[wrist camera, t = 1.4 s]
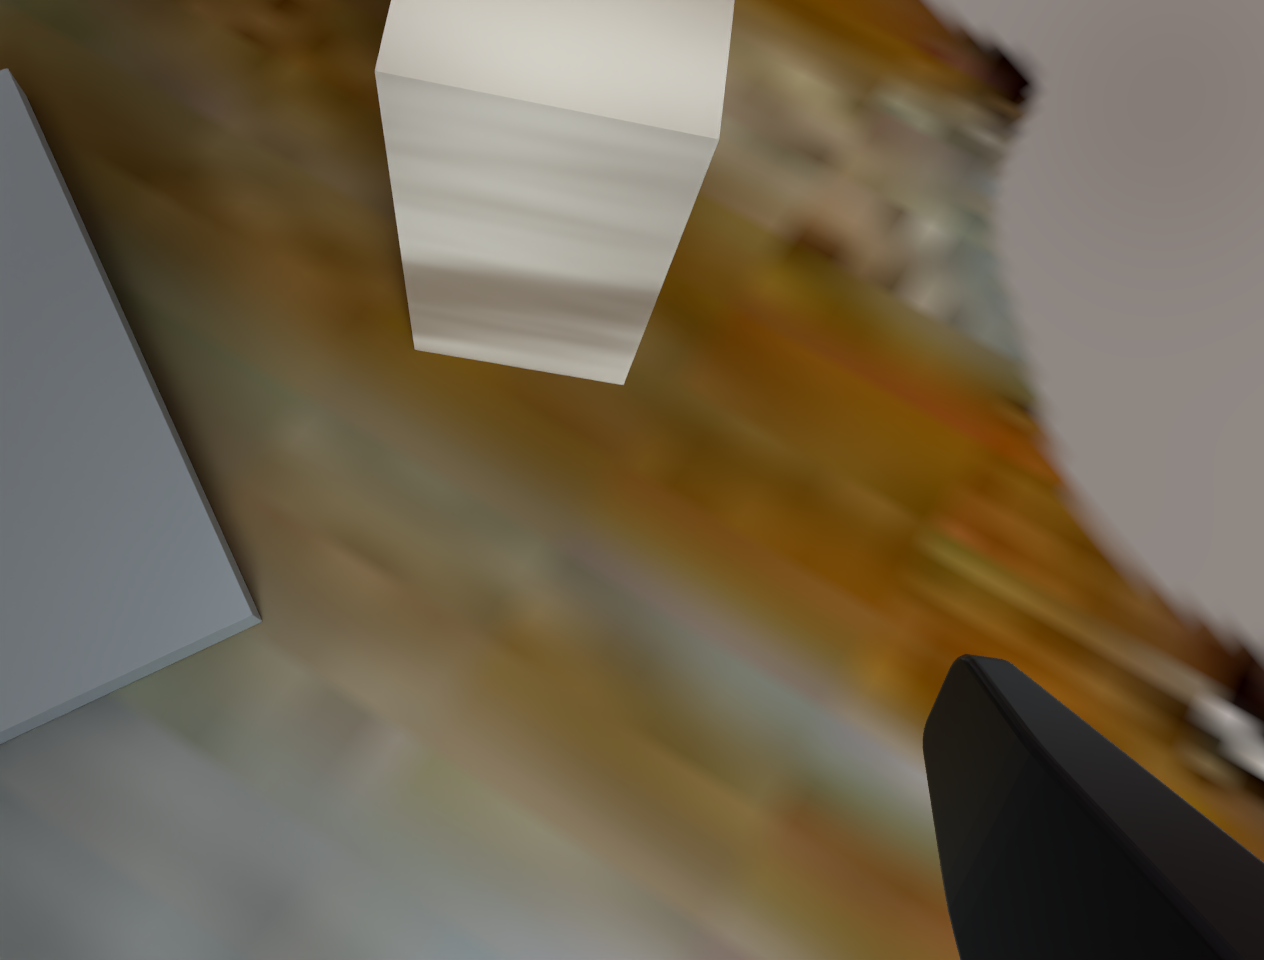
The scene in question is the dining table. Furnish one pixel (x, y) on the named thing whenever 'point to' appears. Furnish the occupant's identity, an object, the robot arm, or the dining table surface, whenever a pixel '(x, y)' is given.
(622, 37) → the cream block
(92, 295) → the slate board
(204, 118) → the dining table surface
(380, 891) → the dining table surface
